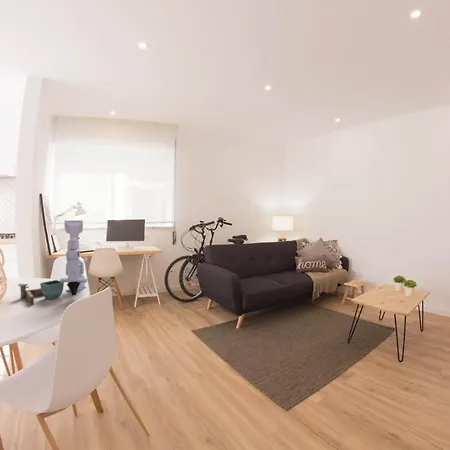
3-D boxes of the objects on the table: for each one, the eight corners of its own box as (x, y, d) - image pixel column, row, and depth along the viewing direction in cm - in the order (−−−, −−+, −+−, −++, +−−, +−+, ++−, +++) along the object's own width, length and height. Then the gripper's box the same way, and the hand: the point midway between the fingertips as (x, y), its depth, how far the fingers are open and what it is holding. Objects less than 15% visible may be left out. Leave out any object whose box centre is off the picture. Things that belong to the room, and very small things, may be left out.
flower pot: (64, 297, 155) (64, 281, 154) (48, 301, 147) (47, 285, 147) (56, 294, 159) (56, 279, 159) (40, 298, 152) (39, 283, 151)
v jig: (34, 291, 165) (34, 278, 165) (61, 291, 165) (60, 279, 164) (2, 304, 142) (1, 289, 142) (32, 305, 142) (31, 290, 141)
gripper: (56, 272, 148) (56, 297, 149) (82, 272, 148) (82, 297, 148) (64, 269, 155) (64, 293, 156) (89, 270, 155) (89, 293, 155)
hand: (74, 295), depth 153 cm, fingers closed
